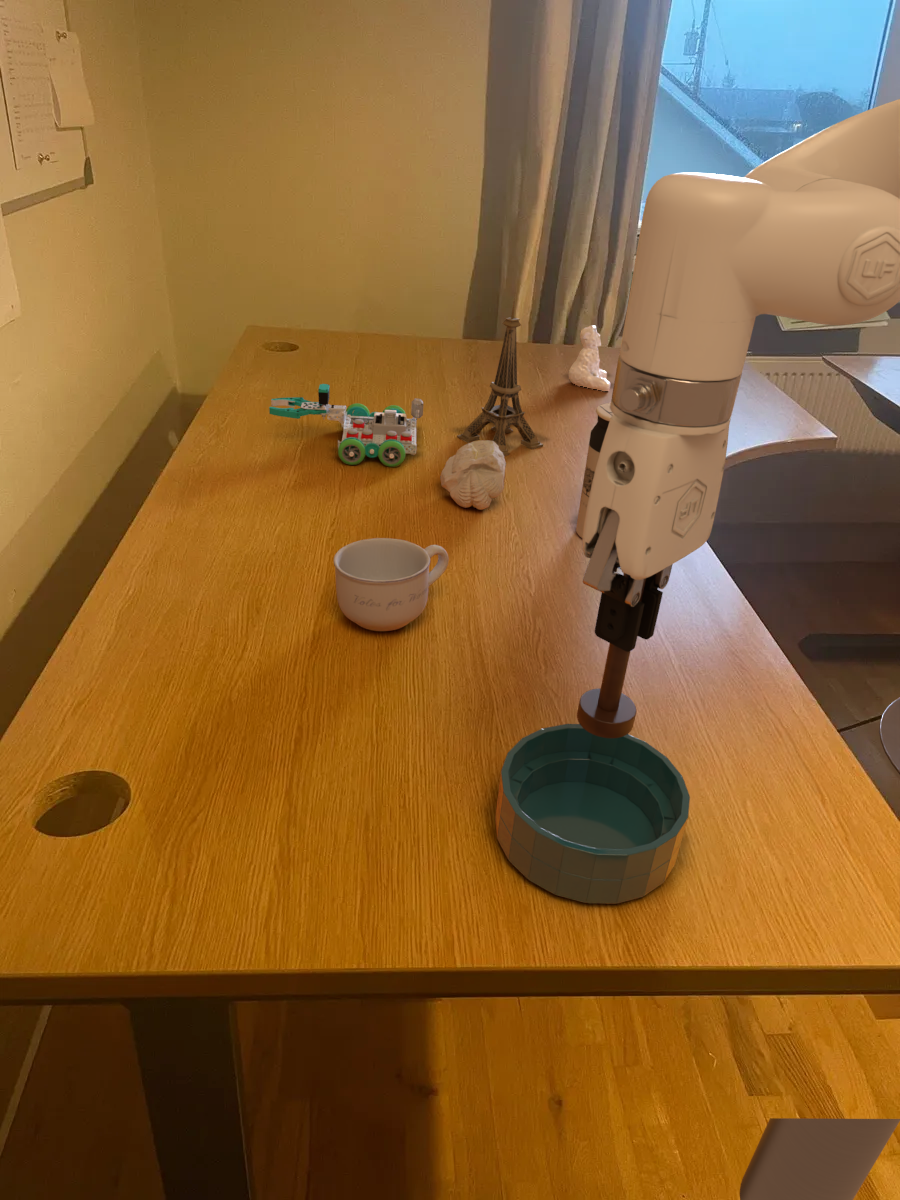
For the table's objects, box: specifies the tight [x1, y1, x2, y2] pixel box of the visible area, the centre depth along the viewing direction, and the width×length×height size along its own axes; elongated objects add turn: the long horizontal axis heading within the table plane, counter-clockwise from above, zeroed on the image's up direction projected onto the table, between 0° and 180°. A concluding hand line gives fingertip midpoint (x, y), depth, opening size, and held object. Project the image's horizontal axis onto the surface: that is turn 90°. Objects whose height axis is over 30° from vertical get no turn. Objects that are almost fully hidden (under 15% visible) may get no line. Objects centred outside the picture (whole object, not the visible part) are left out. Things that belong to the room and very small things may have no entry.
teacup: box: [333, 537, 449, 632], centre depth 101 cm, size 14×11×8 cm
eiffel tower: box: [456, 293, 544, 457], centre depth 147 cm, size 11×11×25 cm
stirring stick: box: [576, 572, 646, 738], centre depth 66 cm, size 4×4×14 cm
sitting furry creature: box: [567, 324, 612, 392], centre depth 181 cm, size 10×9×12 cm
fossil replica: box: [439, 439, 507, 511], centre depth 130 cm, size 12×8×10 cm
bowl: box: [494, 723, 691, 905], centre depth 74 cm, size 15×15×6 cm
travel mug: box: [575, 402, 614, 539], centre depth 120 cm, size 8×8×18 cm
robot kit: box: [268, 383, 424, 468], centre depth 145 cm, size 19×25×9 cm
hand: (623, 635), depth 65 cm, fingers closed on stirring stick
